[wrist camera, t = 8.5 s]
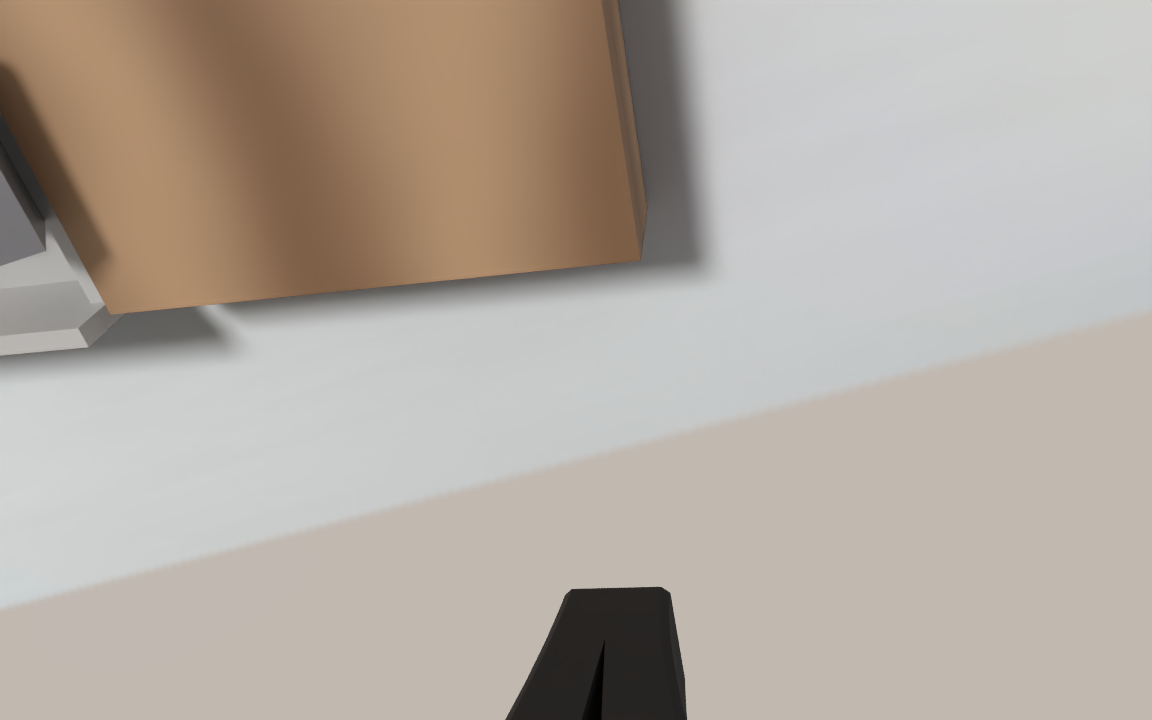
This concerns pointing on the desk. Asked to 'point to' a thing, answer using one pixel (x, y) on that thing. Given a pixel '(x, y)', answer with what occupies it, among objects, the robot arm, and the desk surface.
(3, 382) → the desk surface
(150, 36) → the walnut board
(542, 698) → the robot arm
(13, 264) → the tray
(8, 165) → the tile charcoal
